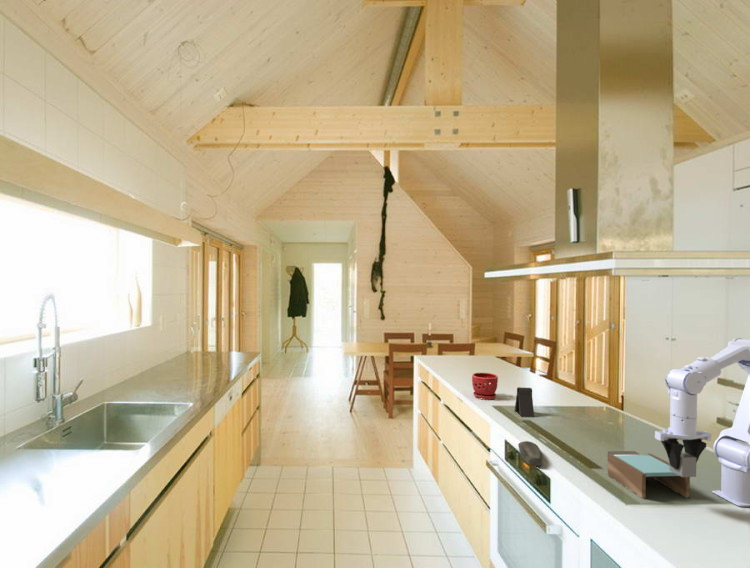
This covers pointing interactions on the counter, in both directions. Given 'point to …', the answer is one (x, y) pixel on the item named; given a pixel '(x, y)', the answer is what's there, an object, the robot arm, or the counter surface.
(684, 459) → the slate block
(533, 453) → the decorative stone
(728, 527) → the counter surface
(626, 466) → the stand
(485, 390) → the plant pot
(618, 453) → the trapdoor flap
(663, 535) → the counter surface
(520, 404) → the phone stand
